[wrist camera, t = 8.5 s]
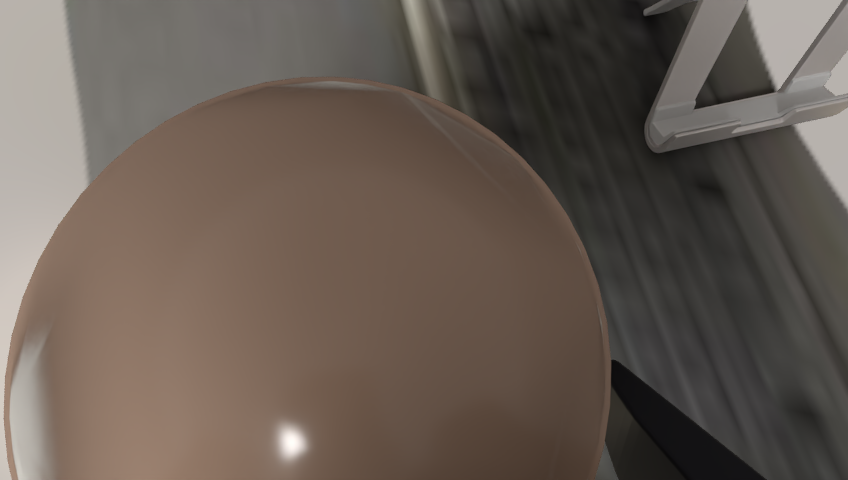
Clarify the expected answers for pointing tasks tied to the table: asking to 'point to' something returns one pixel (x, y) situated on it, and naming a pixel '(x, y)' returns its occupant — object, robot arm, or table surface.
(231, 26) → the table surface
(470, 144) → the tumbler
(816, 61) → the portable electronic device stand
